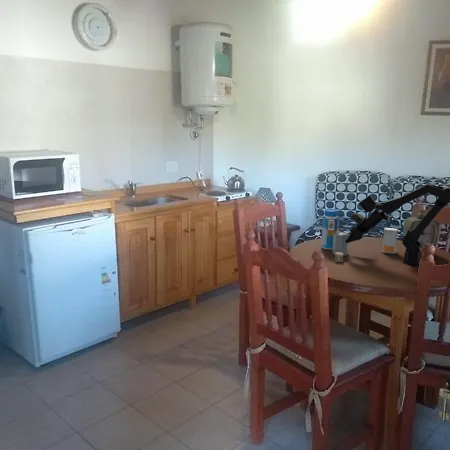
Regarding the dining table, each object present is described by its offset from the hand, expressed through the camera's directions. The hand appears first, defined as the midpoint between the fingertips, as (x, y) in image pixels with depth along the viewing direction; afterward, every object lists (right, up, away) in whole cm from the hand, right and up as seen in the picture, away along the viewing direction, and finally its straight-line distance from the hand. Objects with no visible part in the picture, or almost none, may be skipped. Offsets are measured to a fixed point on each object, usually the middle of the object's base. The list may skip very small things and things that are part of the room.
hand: (348, 240), depth 226 cm
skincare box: (+22, -6, +6) cm, 24 cm away
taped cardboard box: (-7, -9, -9) cm, 15 cm away
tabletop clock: (+36, -7, +6) cm, 37 cm away
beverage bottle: (-6, -5, +14) cm, 16 cm away
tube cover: (-3, -7, +3) cm, 8 cm away
